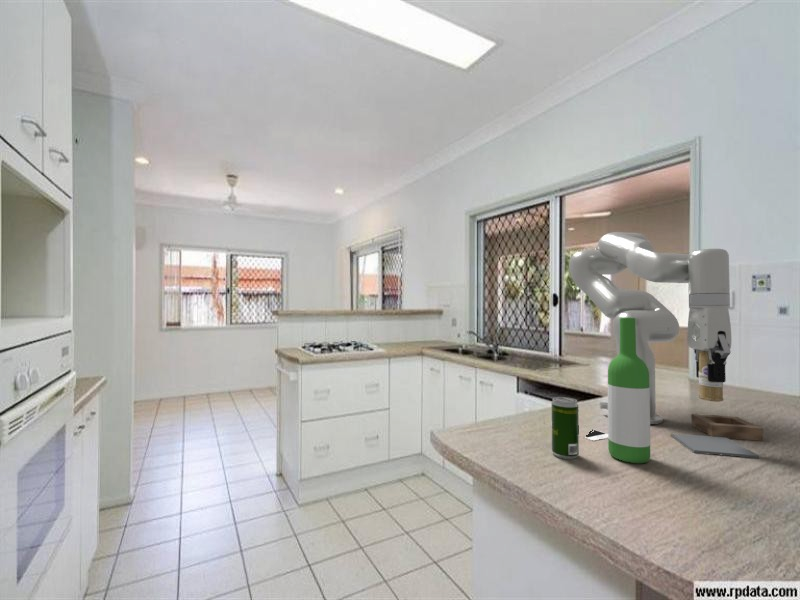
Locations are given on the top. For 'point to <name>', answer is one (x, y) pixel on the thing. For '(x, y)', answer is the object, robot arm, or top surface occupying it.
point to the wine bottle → (628, 400)
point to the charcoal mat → (713, 445)
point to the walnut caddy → (727, 427)
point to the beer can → (565, 428)
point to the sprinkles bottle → (707, 388)
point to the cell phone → (596, 435)
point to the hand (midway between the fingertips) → (710, 379)
